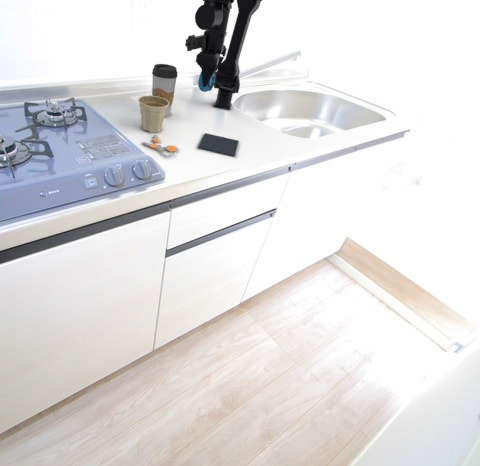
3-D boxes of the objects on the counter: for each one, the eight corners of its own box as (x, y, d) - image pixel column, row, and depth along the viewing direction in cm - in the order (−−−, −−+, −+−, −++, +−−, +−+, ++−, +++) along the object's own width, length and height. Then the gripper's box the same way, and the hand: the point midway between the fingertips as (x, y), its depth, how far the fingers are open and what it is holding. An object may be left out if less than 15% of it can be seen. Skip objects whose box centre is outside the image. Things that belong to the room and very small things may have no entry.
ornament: (205, 96, 104) (212, 61, 97) (193, 92, 105) (198, 57, 99) (216, 90, 109) (223, 57, 103) (204, 87, 111) (210, 54, 104)
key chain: (183, 153, 93) (183, 150, 93) (163, 158, 89) (163, 155, 89) (156, 135, 100) (157, 132, 100) (136, 139, 96) (137, 137, 96)
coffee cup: (145, 114, 112) (148, 66, 103) (155, 107, 119) (158, 61, 109) (167, 120, 111) (172, 72, 101) (176, 112, 117) (182, 67, 107)
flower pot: (172, 130, 105) (175, 103, 99) (151, 137, 99) (153, 109, 93) (151, 120, 109) (154, 93, 103) (130, 126, 103) (131, 98, 98)
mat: (204, 134, 105) (204, 133, 105) (238, 142, 104) (238, 140, 104) (197, 148, 97) (198, 146, 97) (234, 156, 96) (234, 155, 95)
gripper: (197, 19, 104) (189, 72, 114) (182, 25, 90) (175, 85, 100) (231, 25, 102) (220, 78, 112) (222, 33, 88) (210, 93, 98)
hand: (207, 83), depth 106 cm, fingers closed on ornament, 8 cm apart
